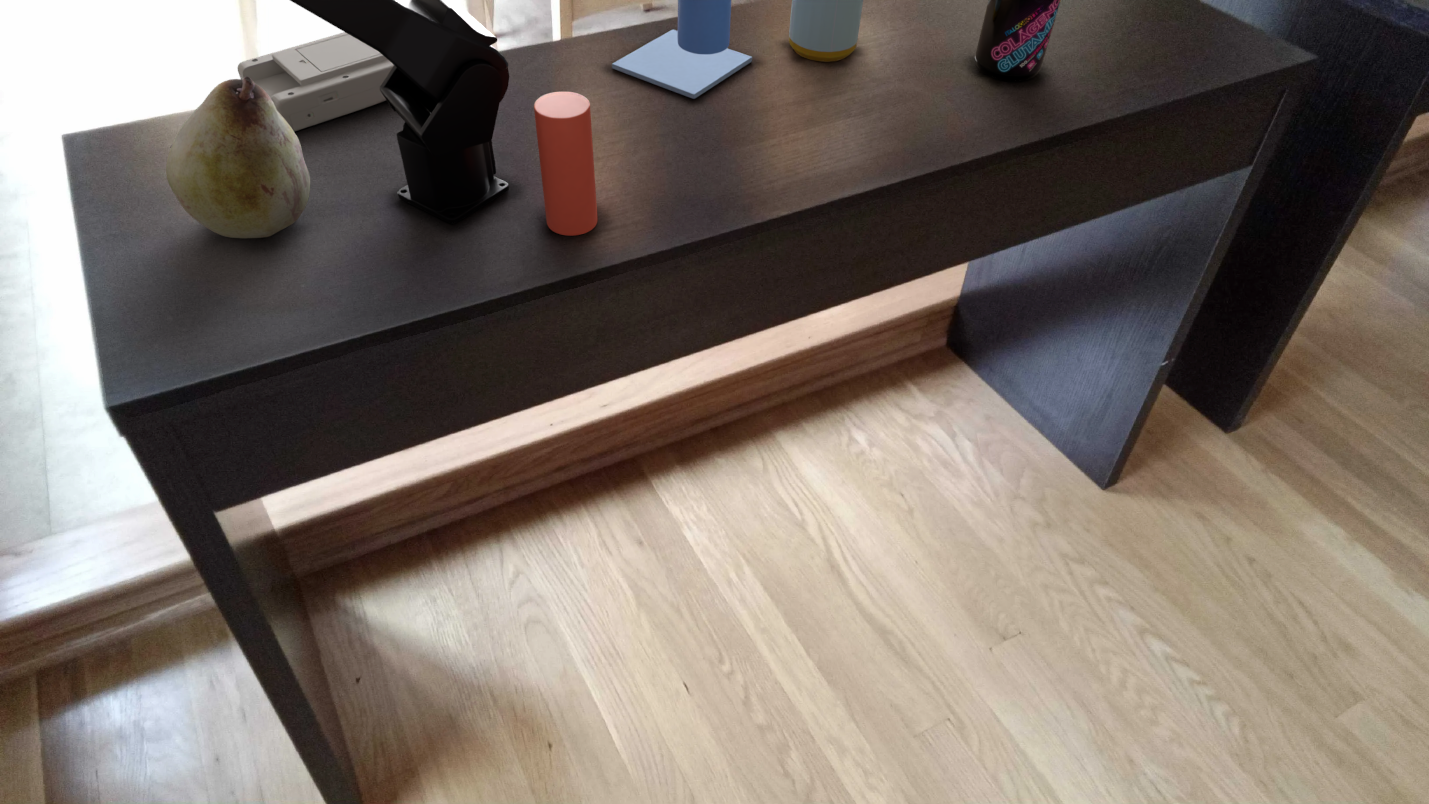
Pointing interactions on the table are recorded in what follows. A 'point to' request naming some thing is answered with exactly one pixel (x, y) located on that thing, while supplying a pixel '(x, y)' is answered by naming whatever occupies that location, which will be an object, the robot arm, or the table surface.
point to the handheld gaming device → (320, 79)
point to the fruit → (239, 164)
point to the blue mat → (680, 66)
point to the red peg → (566, 162)
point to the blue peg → (704, 25)
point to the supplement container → (1015, 38)
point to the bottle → (824, 28)
